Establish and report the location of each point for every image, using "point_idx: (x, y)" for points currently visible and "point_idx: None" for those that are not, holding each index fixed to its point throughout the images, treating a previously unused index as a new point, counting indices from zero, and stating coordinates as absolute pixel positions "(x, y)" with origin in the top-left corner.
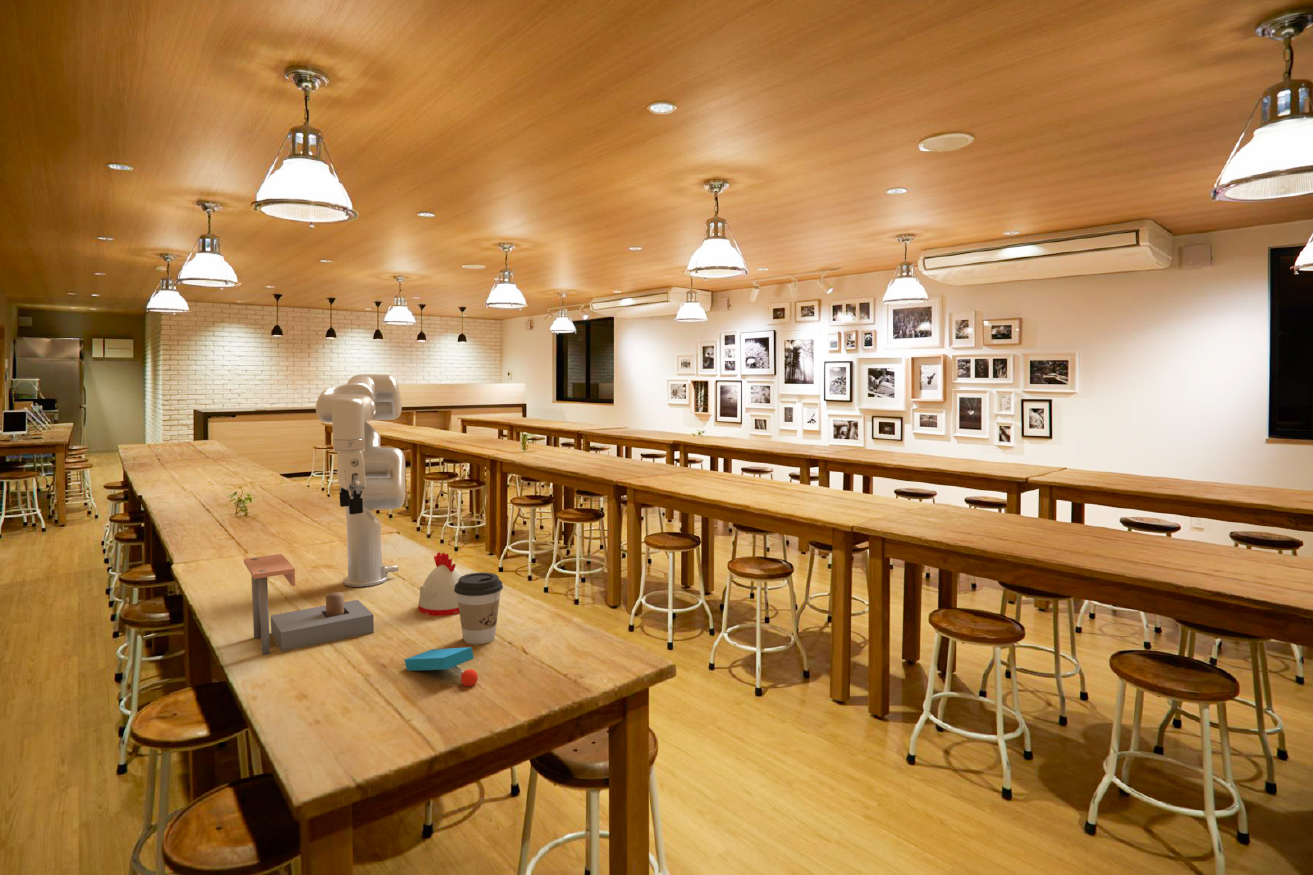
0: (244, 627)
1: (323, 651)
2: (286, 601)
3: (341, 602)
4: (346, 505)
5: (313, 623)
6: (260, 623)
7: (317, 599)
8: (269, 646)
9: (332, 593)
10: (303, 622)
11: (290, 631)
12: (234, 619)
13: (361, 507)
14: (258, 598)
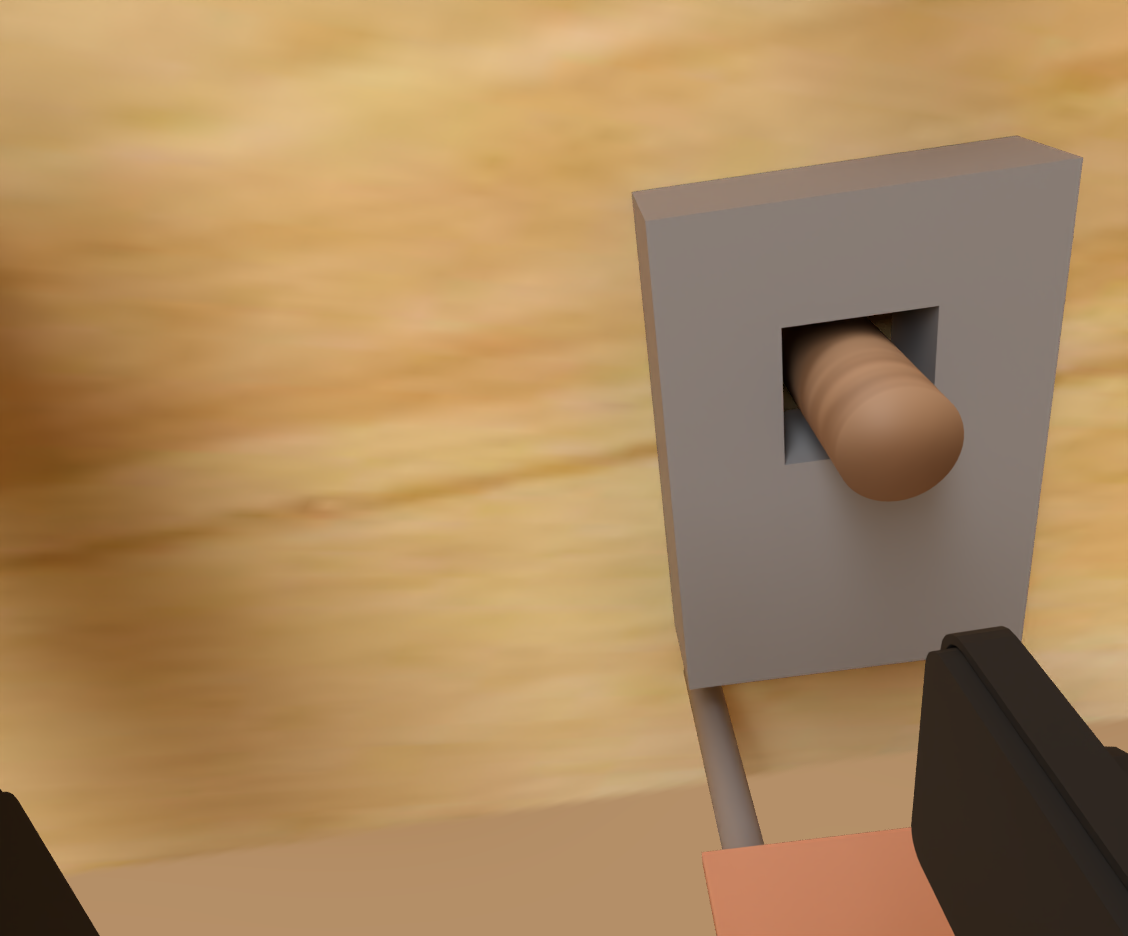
0: (514, 718)
1: (1111, 423)
2: (114, 561)
3: (934, 385)
4: (59, 899)
5: (987, 511)
6: (721, 708)
7: (123, 404)
8: None
9: (860, 458)
10: (932, 555)
11: (1022, 609)
12: (363, 756)
13: (1081, 751)
14: (758, 825)
